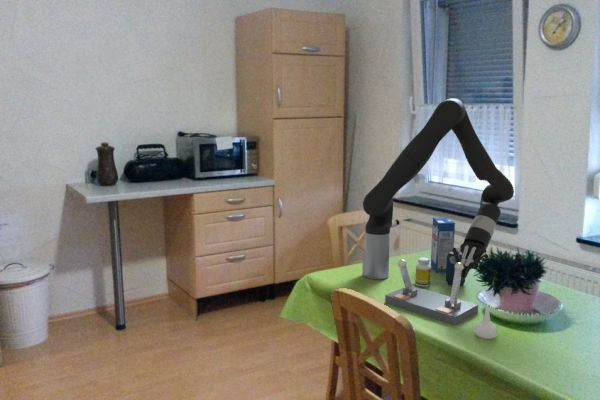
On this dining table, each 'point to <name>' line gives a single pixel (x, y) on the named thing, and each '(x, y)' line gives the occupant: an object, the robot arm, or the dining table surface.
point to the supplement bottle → (423, 272)
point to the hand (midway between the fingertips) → (460, 277)
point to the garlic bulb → (486, 328)
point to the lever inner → (405, 275)
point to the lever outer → (456, 282)
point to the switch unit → (432, 304)
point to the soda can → (452, 269)
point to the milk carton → (441, 242)
